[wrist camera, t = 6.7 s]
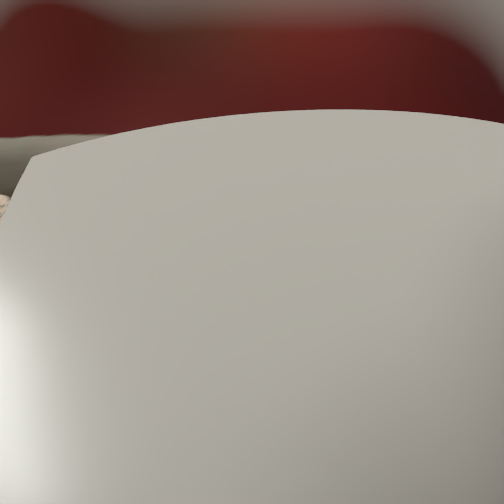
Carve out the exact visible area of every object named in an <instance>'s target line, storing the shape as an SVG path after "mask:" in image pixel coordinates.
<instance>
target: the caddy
mask: <svg viewBox="0 0 504 504" xmlns="http://www.w3.org/2000/svg"><path fill="white" fill-rule="evenodd" d="M0 504H504V124H501V123H496V122H490V121H483V120H477V119H470V118H463V117H454V116H447V115H438V114H427V113H416V112H415V113H414V112H401V111H382V110H302V111H301V110H299V111H279V112H264V113H252V114H242V115H231V116H222V117H214V118H206V119H198V120H191V121H185V122H178V123H172V124H166V125H161V126H155V127H149V128H144V129H139V130H134V131H129V132H124V133H120V134H115V135H111V136H106V137H102V138H98V139H94V140H90V141H86V142H82V143H78V144H74V145H71V146H67V147H64V148H60V149H57V150H53V151H50V152H47V153H43V154H40V155H37V156H34V157H32V158H31V160H30V162H29V164H28V166H27V167H26V169H25V171H24V173H23V175H22V177H21V179H20V181H19V183H18V185H17V187H16V189H15V191H14V193H13V195H12V197H11V200H10V202H9V204H8V206H7V208H6V211H5V213H4V215H3V217H2V220H1V222H0Z"/></svg>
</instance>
